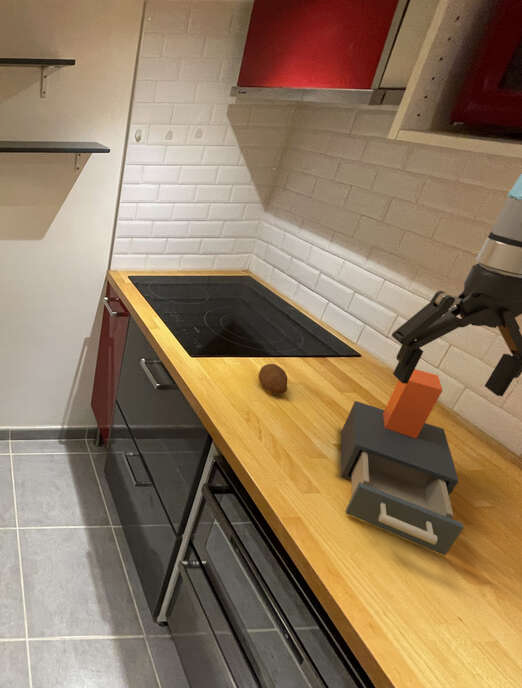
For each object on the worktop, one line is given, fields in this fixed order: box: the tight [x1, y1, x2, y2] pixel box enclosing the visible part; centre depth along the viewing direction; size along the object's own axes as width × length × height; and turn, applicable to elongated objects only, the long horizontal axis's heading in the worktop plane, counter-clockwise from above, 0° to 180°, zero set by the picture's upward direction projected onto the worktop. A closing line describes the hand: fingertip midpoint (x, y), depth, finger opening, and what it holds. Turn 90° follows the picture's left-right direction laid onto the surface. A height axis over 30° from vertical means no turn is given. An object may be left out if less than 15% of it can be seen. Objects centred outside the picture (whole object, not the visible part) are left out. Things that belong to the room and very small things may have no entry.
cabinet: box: [340, 400, 460, 497], centre depth 92 cm, size 17×15×9 cm
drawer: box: [345, 450, 465, 557], centre depth 81 cm, size 20×14×7 cm
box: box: [383, 368, 443, 438], centre depth 90 cm, size 5×6×12 cm
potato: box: [258, 363, 288, 395], centre depth 117 cm, size 7×10×6 cm
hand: (445, 385), depth 76 cm, fingers open, 13 cm apart
